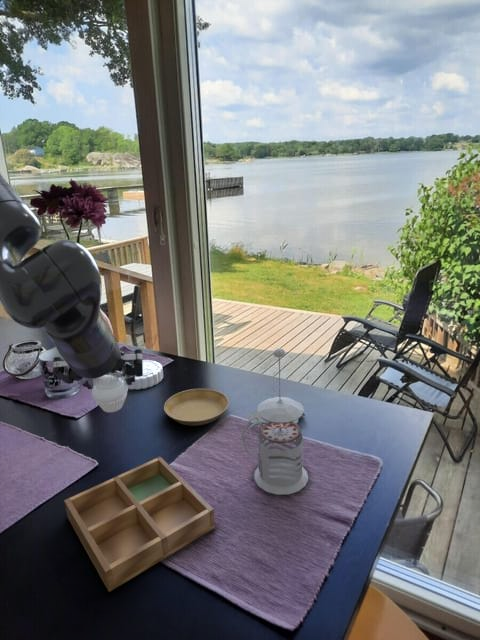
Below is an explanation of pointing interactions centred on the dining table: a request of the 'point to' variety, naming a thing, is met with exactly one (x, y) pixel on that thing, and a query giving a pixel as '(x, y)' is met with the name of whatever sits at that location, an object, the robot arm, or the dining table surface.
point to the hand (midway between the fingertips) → (110, 381)
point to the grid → (137, 520)
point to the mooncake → (147, 375)
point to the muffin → (110, 393)
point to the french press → (275, 465)
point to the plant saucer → (196, 406)
